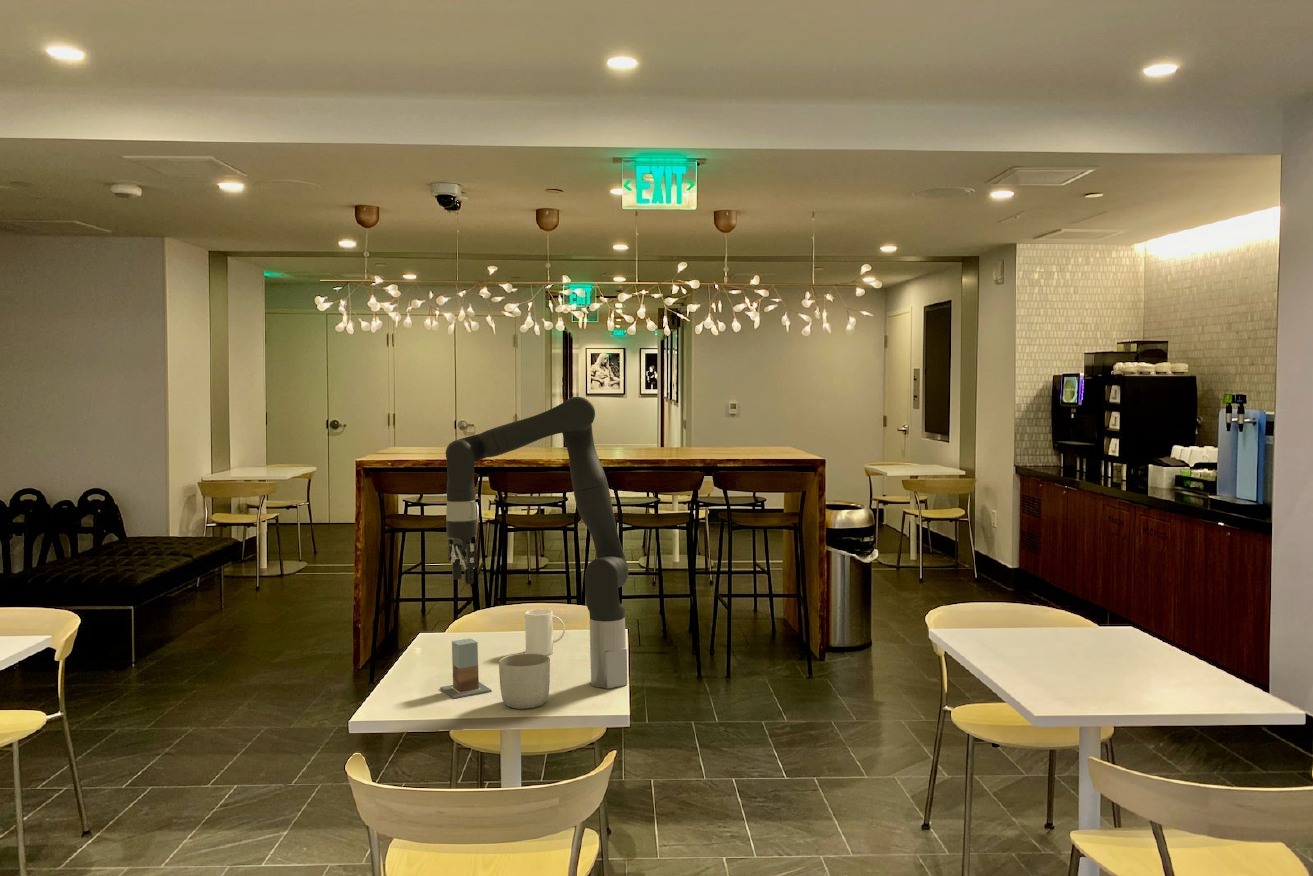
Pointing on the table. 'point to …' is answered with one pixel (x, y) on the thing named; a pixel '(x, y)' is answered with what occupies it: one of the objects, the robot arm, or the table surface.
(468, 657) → the blue grey block
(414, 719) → the table surface
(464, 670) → the walnut block
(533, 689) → the planter
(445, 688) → the pad
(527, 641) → the mug
